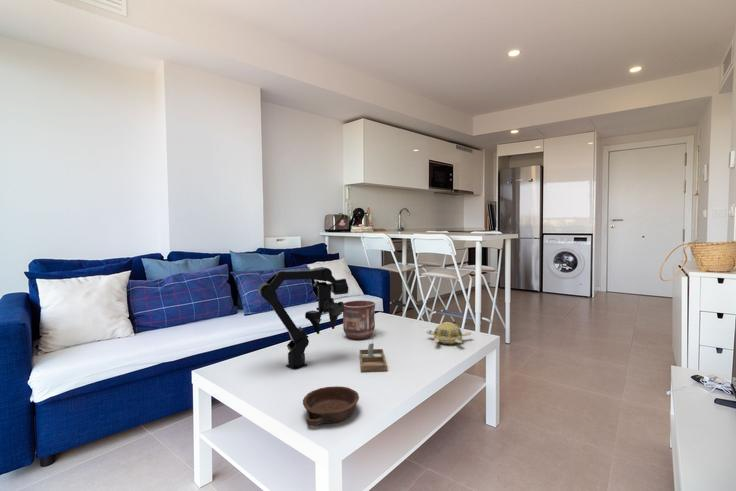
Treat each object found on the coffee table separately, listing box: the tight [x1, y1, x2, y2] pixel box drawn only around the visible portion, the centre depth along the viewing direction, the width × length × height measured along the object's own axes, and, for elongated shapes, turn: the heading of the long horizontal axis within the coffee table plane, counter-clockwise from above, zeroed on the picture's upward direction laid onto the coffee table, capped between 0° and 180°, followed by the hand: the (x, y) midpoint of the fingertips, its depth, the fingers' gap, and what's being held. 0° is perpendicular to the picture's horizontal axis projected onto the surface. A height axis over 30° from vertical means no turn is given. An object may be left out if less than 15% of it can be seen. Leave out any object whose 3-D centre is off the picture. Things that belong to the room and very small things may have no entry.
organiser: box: [359, 348, 388, 374], centre depth 158 cm, size 20×11×2 cm, turn 3°
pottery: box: [342, 299, 376, 341], centre depth 197 cm, size 18×18×18 cm
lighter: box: [367, 340, 375, 357], centre depth 162 cm, size 7×2×8 cm, turn 7°
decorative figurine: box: [425, 321, 472, 345], centre depth 184 cm, size 26×21×10 cm
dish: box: [302, 386, 360, 426], centre depth 116 cm, size 17×22×5 cm
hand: (325, 331), depth 162 cm, fingers open, 9 cm apart
